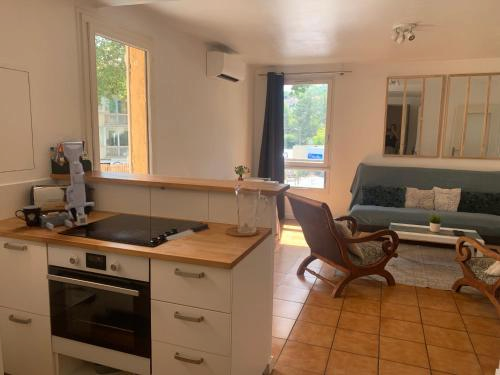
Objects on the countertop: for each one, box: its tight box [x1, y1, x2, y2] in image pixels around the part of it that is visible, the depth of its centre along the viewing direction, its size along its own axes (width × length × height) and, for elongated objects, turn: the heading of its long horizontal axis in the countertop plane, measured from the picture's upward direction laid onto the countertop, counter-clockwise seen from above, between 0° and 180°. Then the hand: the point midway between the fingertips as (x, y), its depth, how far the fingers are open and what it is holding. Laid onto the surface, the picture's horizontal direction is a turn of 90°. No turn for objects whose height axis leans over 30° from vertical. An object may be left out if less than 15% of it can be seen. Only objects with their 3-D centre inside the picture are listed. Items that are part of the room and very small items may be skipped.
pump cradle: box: [45, 220, 73, 231], centre depth 200 cm, size 9×11×2 cm
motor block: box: [38, 211, 71, 229], centre depth 205 cm, size 6×14×6 cm, turn 133°
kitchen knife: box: [165, 223, 209, 241], centre depth 189 cm, size 29×3×5 cm
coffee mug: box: [14, 205, 42, 228], centre depth 204 cm, size 12×9×10 cm
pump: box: [74, 212, 89, 227], centre depth 204 cm, size 6×5×6 cm
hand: (81, 220), depth 204 cm, fingers closed on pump, 5 cm apart
